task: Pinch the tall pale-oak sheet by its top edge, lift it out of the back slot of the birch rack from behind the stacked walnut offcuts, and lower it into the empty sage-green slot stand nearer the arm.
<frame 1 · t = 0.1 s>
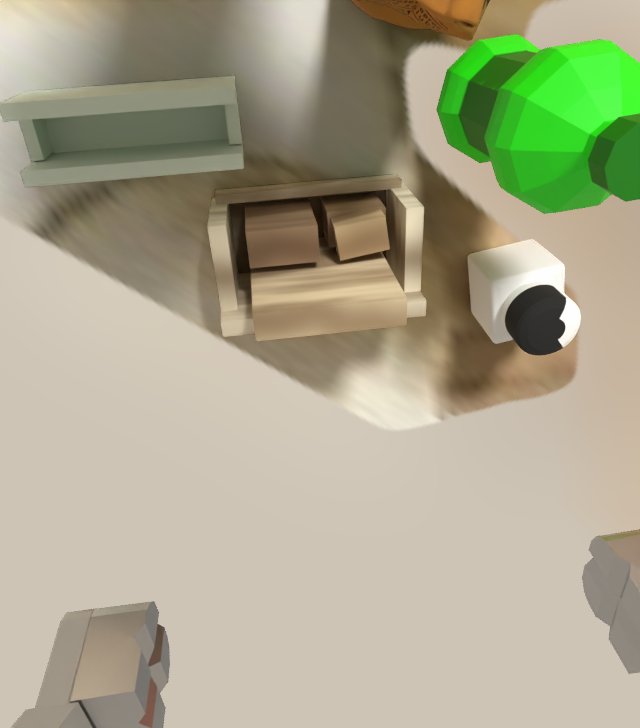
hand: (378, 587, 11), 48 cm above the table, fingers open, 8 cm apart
plastic bottle 2: (479, 94, 52), on the table
offcut top: (357, 227, 52), point 5 cm above the table, touching offcut low
offcut low: (348, 210, 56), resting in rack, touching offcut top
offcut tall: (278, 217, 56), resting in rack
stand: (139, 121, 50), on the table
sheet: (320, 280, 51), in the rack
medicine bottle: (500, 275, 62), on the table
rack: (311, 249, 58), on the table
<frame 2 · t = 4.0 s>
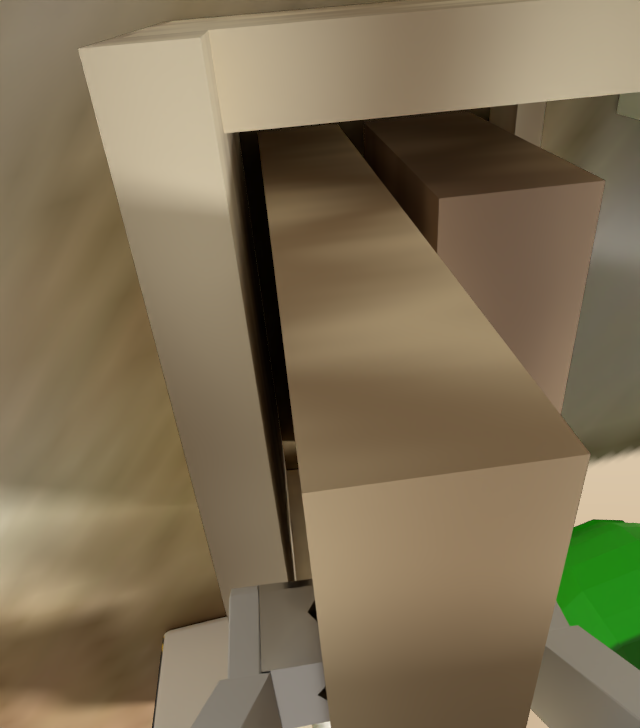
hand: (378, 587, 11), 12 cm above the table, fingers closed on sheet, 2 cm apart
plastic bottle 2: (585, 551, 30), on the table
offcut tall: (414, 213, 19), resting in rack
sheet: (345, 443, 14), in the rack, touching gripper
medicine bottle: (250, 647, 31), on the table
rack: (313, 307, 21), on the table
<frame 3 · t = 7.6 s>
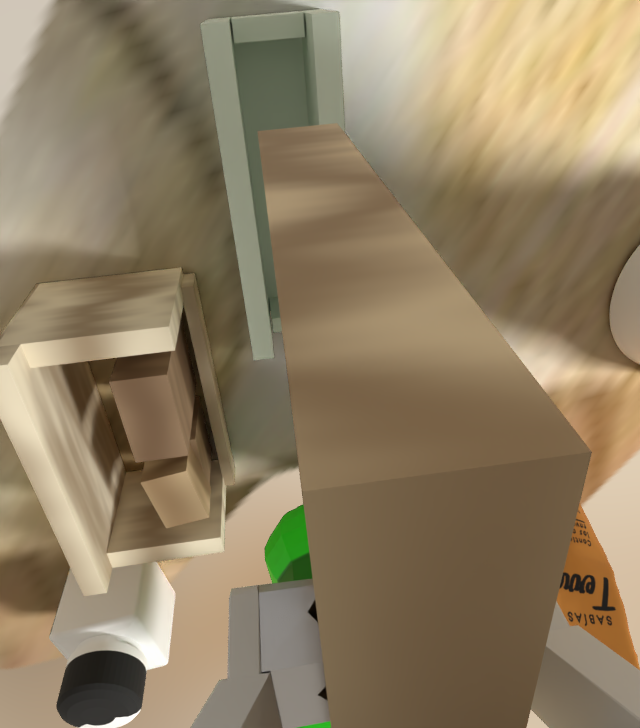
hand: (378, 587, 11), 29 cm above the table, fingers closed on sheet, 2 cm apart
plastic bottle 2: (318, 518, 52), on the table
offcut top: (179, 471, 40), point 5 cm above the table, touching offcut low
offcut low: (184, 426, 44), resting in rack, touching offcut top
offcut tall: (165, 350, 41), resting in rack
stand: (282, 177, 35), on the table
sheet: (345, 442, 14), point 25 cm above the table, touching gripper
coffee package: (454, 440, 48), on the table
medicine bottle: (125, 576, 53), on the table
rack: (124, 392, 42), on the table
when the fingers open (14 cm above the table, at t = 11.3 s): sheet drops 1 cm, resting on stand.
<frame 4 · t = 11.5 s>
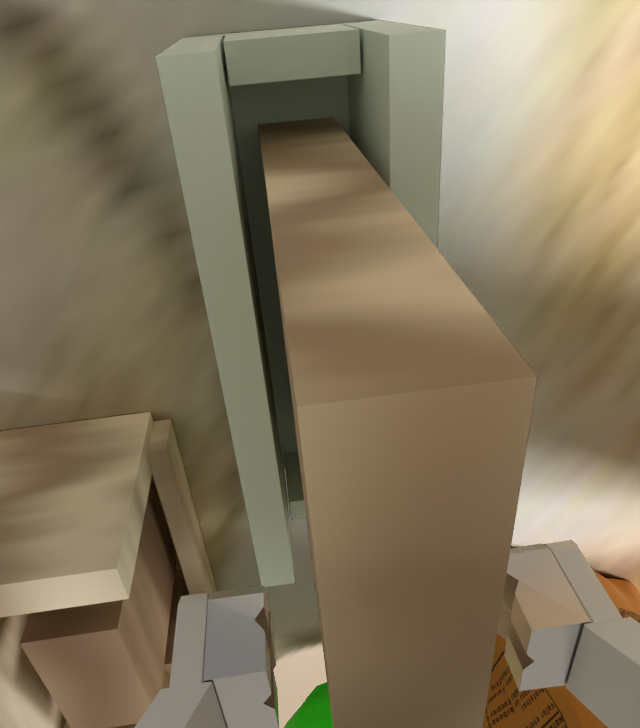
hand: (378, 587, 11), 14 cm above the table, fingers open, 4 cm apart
plastic bottle 2: (344, 695, 39), on the table
offcut low: (161, 605, 31), resting in rack, touching offcut top
offcut tall: (129, 517, 28), resting in rack
stand: (306, 284, 22), on the table
sheet: (340, 414, 15), point 8 cm above the table, touching stand
coffee package: (532, 603, 35), on the table
rack: (71, 570, 29), on the table
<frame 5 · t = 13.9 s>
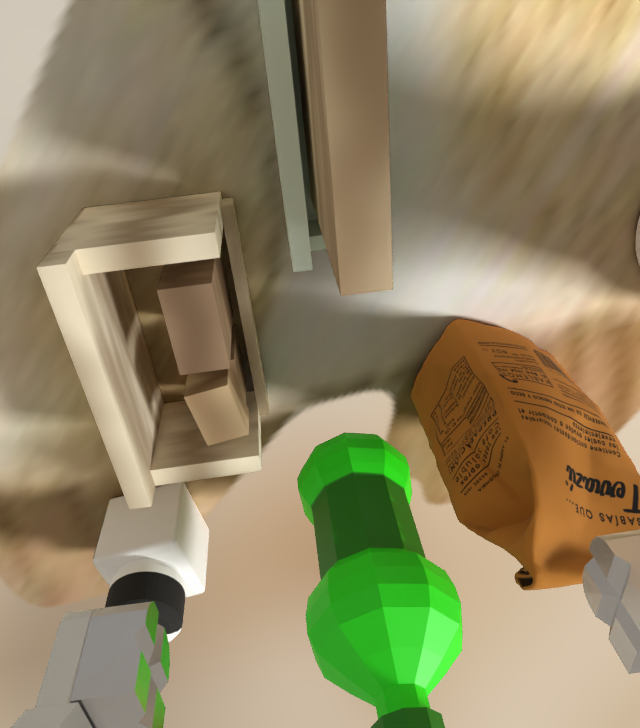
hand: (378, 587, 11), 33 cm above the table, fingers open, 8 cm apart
plastic bottle 2: (348, 454, 53), on the table
offcut top: (219, 392, 42), point 5 cm above the table, touching offcut low
offcut low: (220, 356, 46), resting in rack, touching offcut top
offcut tall: (203, 277, 42), resting in rack
stand: (317, 98, 36), on the table
sheet: (336, 122, 29), point 8 cm above the table, touching stand
coffee package: (481, 373, 50), on the table
medicine bottle: (161, 512, 54), on the table
rack: (163, 320, 44), on the table
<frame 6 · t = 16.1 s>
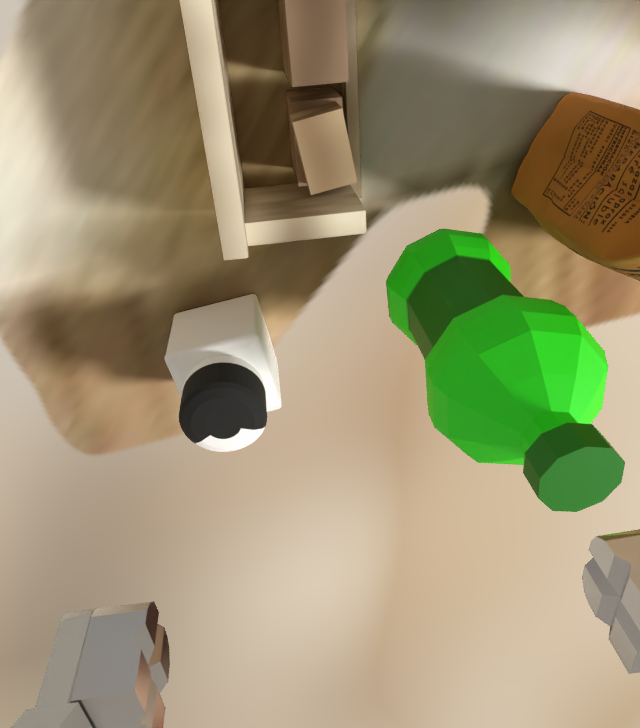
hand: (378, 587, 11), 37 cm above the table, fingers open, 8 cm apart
plastic bottle 2: (433, 271, 49), on the table
offcut top: (320, 143, 37), point 5 cm above the table, touching offcut low
offcut low: (311, 128, 42), resting in rack, touching offcut top
offcut tall: (303, 18, 38), resting in rack
coffee package: (586, 171, 46), on the table
medicine bottle: (227, 337, 50), on the table
rack: (254, 74, 39), on the table
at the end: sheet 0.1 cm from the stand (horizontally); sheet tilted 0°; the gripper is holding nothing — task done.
